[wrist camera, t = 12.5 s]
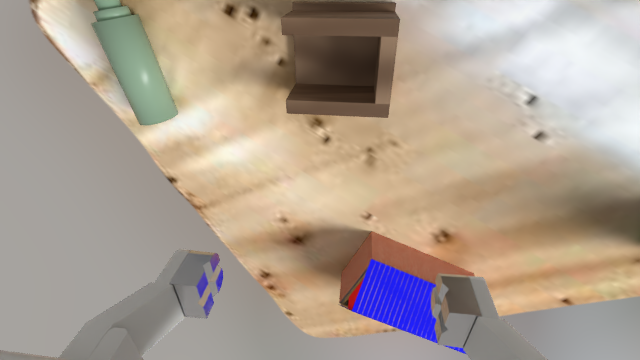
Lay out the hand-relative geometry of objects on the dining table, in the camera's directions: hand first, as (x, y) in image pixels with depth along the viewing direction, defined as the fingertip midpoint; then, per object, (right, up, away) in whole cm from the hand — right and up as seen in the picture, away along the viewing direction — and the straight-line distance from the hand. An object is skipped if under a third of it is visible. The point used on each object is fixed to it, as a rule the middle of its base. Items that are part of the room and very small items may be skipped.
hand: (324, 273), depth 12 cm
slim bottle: (-22, +12, +31) cm, 40 cm away
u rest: (+2, +18, +26) cm, 32 cm away
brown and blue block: (+15, -13, +45) cm, 49 cm away
